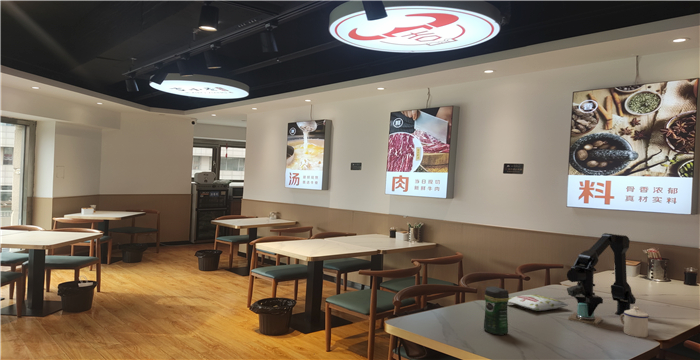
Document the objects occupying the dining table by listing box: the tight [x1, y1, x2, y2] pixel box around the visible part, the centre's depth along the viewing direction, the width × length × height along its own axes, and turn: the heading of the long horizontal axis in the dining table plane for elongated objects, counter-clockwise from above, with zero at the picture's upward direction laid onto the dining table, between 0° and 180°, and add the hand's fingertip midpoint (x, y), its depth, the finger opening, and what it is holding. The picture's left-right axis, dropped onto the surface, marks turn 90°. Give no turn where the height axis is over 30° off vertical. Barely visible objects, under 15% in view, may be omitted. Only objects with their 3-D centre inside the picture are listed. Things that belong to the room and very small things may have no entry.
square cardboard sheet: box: [567, 312, 603, 326], centre depth 216 cm, size 12×12×5 cm
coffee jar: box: [483, 285, 510, 336], centre depth 192 cm, size 10×8×19 cm
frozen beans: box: [508, 294, 570, 312], centre depth 236 cm, size 21×6×25 cm
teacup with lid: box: [619, 306, 650, 338], centre depth 198 cm, size 12×9×12 cm
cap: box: [576, 302, 595, 317], centre depth 216 cm, size 6×6×5 cm
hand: (585, 314), depth 216 cm, fingers closed on cap, 7 cm apart
